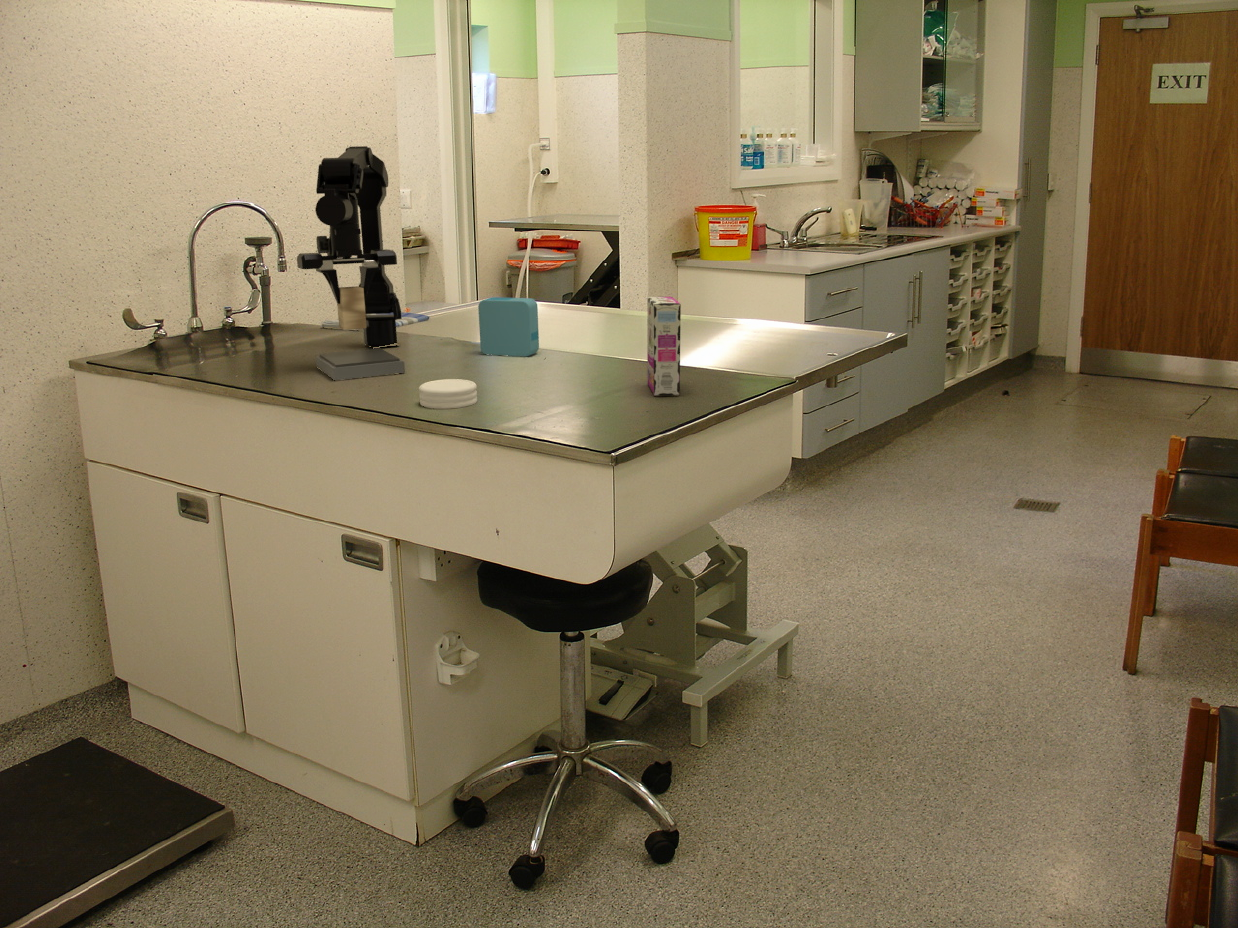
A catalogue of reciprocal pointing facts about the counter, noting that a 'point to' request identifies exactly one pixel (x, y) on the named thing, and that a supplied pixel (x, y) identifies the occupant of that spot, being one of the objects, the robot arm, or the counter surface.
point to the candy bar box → (663, 345)
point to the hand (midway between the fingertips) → (350, 302)
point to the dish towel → (406, 317)
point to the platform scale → (359, 363)
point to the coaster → (448, 394)
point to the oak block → (351, 308)
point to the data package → (508, 326)
